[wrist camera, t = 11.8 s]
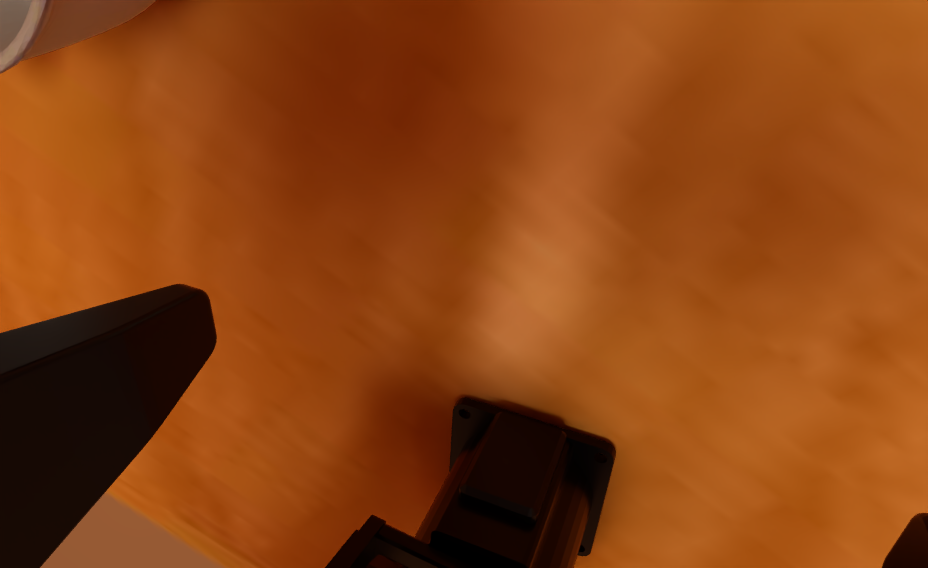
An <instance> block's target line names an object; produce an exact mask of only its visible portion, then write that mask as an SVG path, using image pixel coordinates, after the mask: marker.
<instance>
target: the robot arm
mask: <svg viewBox="0 0 928 568" xmlns="http://www.w3.org/2000/svg"><path fill="white" fill-rule="evenodd" d="M216 339H217V335H216V329H215V324H214V319H213V314H212V309H211V304H210V299H209V297H208V295H207V294H206V292H204V291H203V290H201V289H197V288H194V287H191V286H188V285H184V284H175V285H171V286H167V287H164V288H160V289H157V290H153V291H149V292H146V293H142V294H139V295H135V296H132V297H128V298H124V299H121V300H117V301H114V302H110V303H107V304H103V305H99V306H96V307H92V308H89V309H85V310H82V311H78V312H74V313H71V314H67V315H64V316H60V317H56V318H53V319H49V320H46V321H42V322H39V323H35V324H31V325H28V326H24V327H21V328H17V329H14V330H10V331H6V332H3V333H0V568H40V567H41V566H42V565H43V564H44V562H45V561H46V560H47V559H48V558H49V557H50V556H51V554H52V553H53V552H54V551H55V550H56V548H57V547H58V546H59V545H60V544H61V543H62V542H63V540H64V539H65V538H66V537H67V536H68V535H69V534H70V532H71V531H72V530H73V529H74V528H75V527H76V525H77V524H78V523H79V522H80V521H81V519H82V518H83V517H84V516H85V515H86V514H87V513H88V511H89V510H90V509H91V508H92V507H93V506H94V505H95V503H96V502H97V501H98V500H99V499H100V497H101V496H102V495H103V494H104V493H105V492H106V491H107V489H108V488H109V487H110V486H111V485H112V484H113V483H114V481H115V480H116V479H117V478H118V477H119V476H120V474H121V473H122V472H123V471H124V470H125V469H126V467H127V466H128V465H129V464H130V463H131V462H132V460H133V459H134V458H135V457H136V456H137V455H138V454H139V452H140V451H141V450H142V449H143V448H144V446H145V445H146V444H147V443H148V442H149V440H150V439H151V438H152V437H153V435H154V434H155V433H156V431H157V430H158V429H159V427H160V426H161V425H162V423H163V422H164V421H165V419H166V418H167V416H168V415H169V413H170V412H171V411H172V409H173V408H174V406H175V405H176V404H177V402H178V401H179V399H180V398H181V396H182V395H183V394H184V392H185V391H186V389H187V388H188V387H189V385H190V384H191V382H192V381H193V379H194V378H195V377H196V375H197V374H198V372H199V371H200V370H201V368H202V367H203V365H204V364H205V362H206V361H207V360H208V358H209V357H210V355H211V354H212V352H213V350H214V348H215V345H216ZM464 409H465V410H467V411H468V412H467V411H465V410H464ZM598 453H602V454H604V455H605V456H602V455H600V454H598ZM615 456H616V451H615V449H614V447H613V446H612V445H611V444H609V443H607V442H605V441H601V440H598V439H595V438H592V437H589V436H586V435H583V434H579V433H576V432H573V431H570V430H567V429H564V428H561V427H557V426H554V425H551V424H548V423H545V422H542V421H539V420H535V419H532V418H529V417H526V416H523V415H520V414H517V413H513V412H510V411H507V410H504V409H501V408H498V407H494V406H491V405H488V404H485V403H482V402H479V401H476V400H472V399H469V398H461V399H459V400H458V401H457V403H456V405H455V406H454V409H453V419H452V436H451V453H450V470H449V474H448V476H447V478H446V480H445V482H444V484H443V485H442V487H441V489H440V491H439V493H438V495H437V497H436V498H435V500H434V502H433V504H432V506H431V508H430V509H429V511H428V513H427V515H426V517H425V519H424V521H423V522H422V524H421V526H420V528H419V530H418V532H417V534H416V535H415V537H412V536H410V535H408V534H406V533H404V532H402V531H399V530H397V529H395V528H393V527H391V526H389V525H387V524H386V521H385V520H383V519H380V518H378V517H376V516H374V515H371V516H370V518H369V519H368V520H367V521H366V523H365V524H364V525H363V526H362V527H361V529H360V530H359V531H358V530H356V531H355V532H354V533H353V534H352V535H351V536H350V538H349V539H348V540H347V541H346V543H345V544H344V545H343V546H342V547H341V549H340V550H339V551H338V552H337V554H336V555H335V556H334V557H333V558H332V560H331V561H330V562H329V563H328V565H327V566H326V567H325V568H574V565H575V561H576V558H577V555H579V556H587V555H589V554H590V552H591V549H592V546H593V542H594V538H595V534H596V530H597V526H598V522H599V518H600V515H601V511H602V507H603V503H604V499H605V495H606V491H607V487H608V484H609V480H610V476H611V472H612V468H613V464H614V460H615ZM882 568H928V513H919V514H917V515H915V516H914V517H913V518H912V519H911V520H910V522H909V523H908V525H907V526H906V528H905V529H904V531H903V532H902V534H901V535H900V537H899V538H898V540H897V541H896V543H895V544H894V546H893V547H892V549H891V550H890V552H889V553H888V555H887V556H886V558H885V560H884V563H883V566H882Z"/></svg>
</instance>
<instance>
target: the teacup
mask: <svg viewBox="0 0 928 568" xmlns="http://www.w3.org/2000/svg"><path fill="white" fill-rule="evenodd" d="M155 1H156V0H0V73H3V72H5V71H6V70H8V69H10V68H11V67H13V66H15V65H17V64H18V63H19V62H20V61H23V60H26V59H29V58H33V57H36V56H39V55H42V54H45V53H48V52H51V51H54V50H57V49H60V48H63V47H66V46H69V45H72V44H74V43H77V42H80V41H82V40H85V39H88V38H90V37H93V36H96V35H98V34H101V33H103V32H105V31H108V30H110V29H112V28H114V27H117V26H119V25H121V24H123V23H125V22H127V21H129V20H131V19H132V18H134V17H135V16H137V15H138V14H140V13H142V12H143V11H145V10H146V9H147V8H148V7H149V6H151V5H152V4H153V3H154V2H155Z"/></svg>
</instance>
